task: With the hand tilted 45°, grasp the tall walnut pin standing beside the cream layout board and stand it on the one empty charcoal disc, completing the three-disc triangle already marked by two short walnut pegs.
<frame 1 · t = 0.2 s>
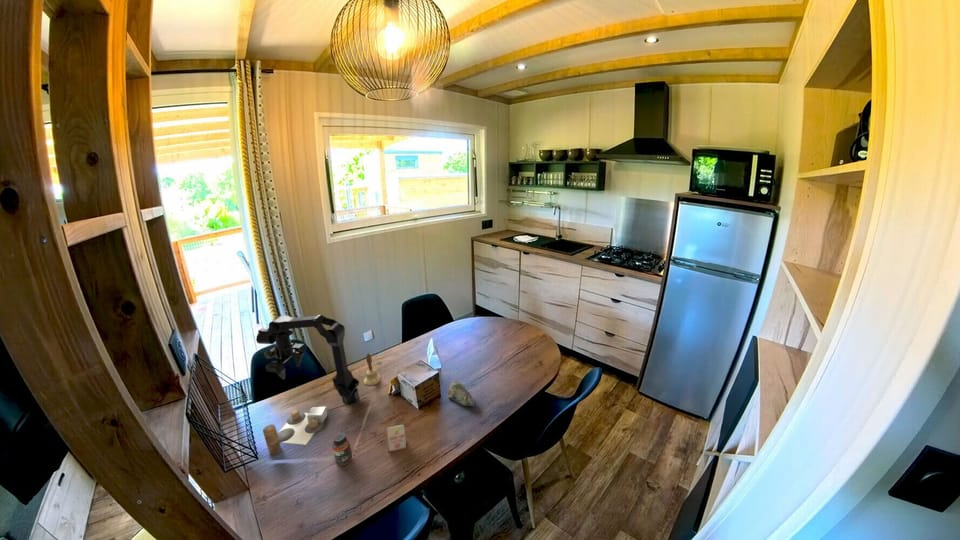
hand: (290, 372, 152), 14 cm above the table, tool pointing down, fingers open, 9 cm apart
layout board: (301, 429, 139), on the table
walnut pin: (275, 452, 128), on the table
hand bell: (372, 380, 169), on the table
mineral rock: (460, 402, 154), on the table
small printed carton: (397, 446, 131), on the table
housing: (318, 418, 143), resting on layout board
supplement bottle: (344, 459, 125), on the table
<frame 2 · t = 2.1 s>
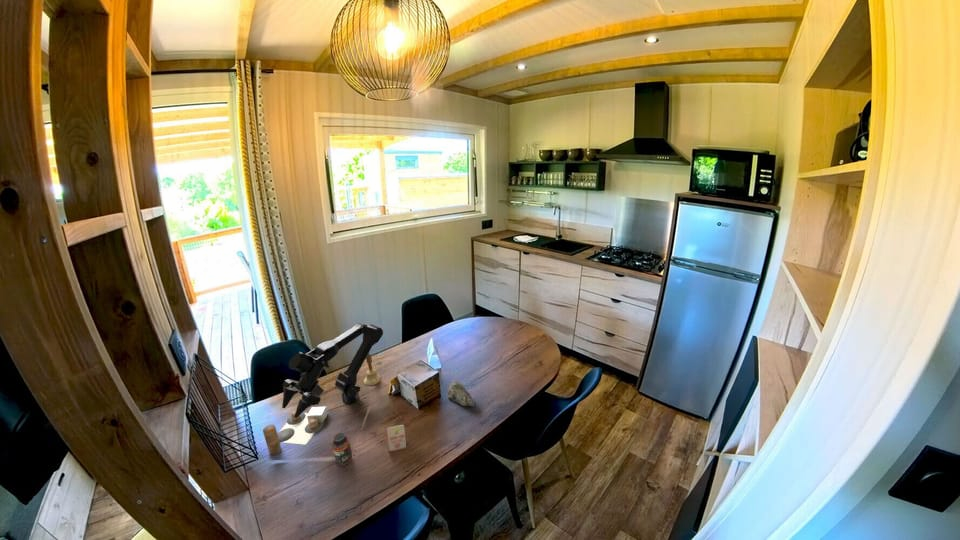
hand: (289, 412, 130), 13 cm above the table, tool tilted 45°, fingers open, 9 cm apart
nothing on the table moved.
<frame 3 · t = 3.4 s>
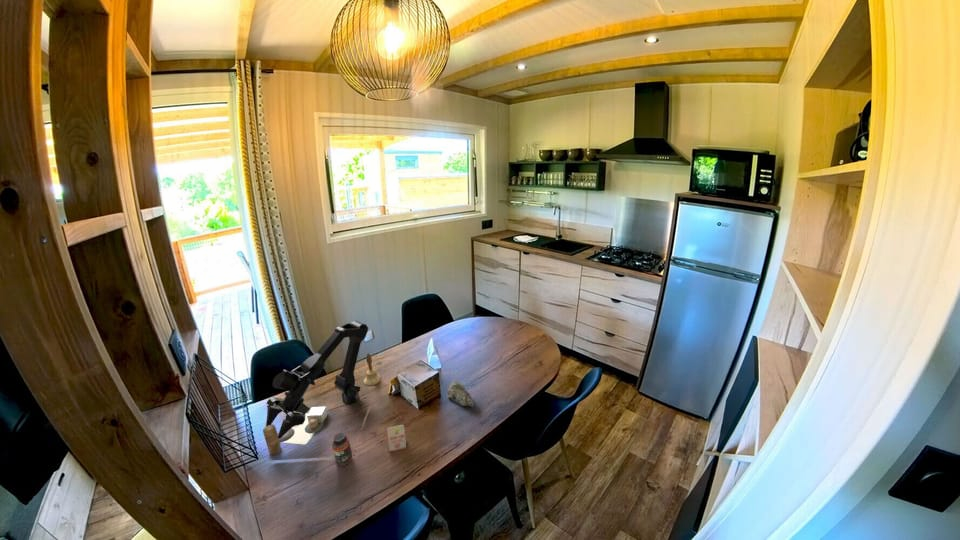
hand: (272, 432, 126), 9 cm above the table, tool tilted 45°, fingers open, 9 cm apart
nothing on the table moved.
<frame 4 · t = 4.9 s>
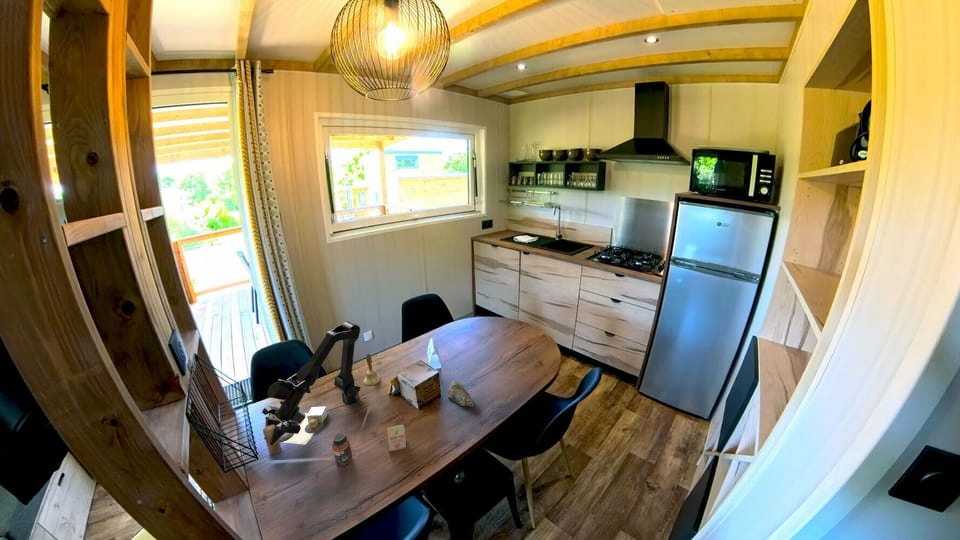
hand: (268, 442, 125), 7 cm above the table, tool tilted 45°, fingers closed on walnut pin, 4 cm apart
walnut pin: (275, 452, 128), on the table, touching gripper
everything else where it was.
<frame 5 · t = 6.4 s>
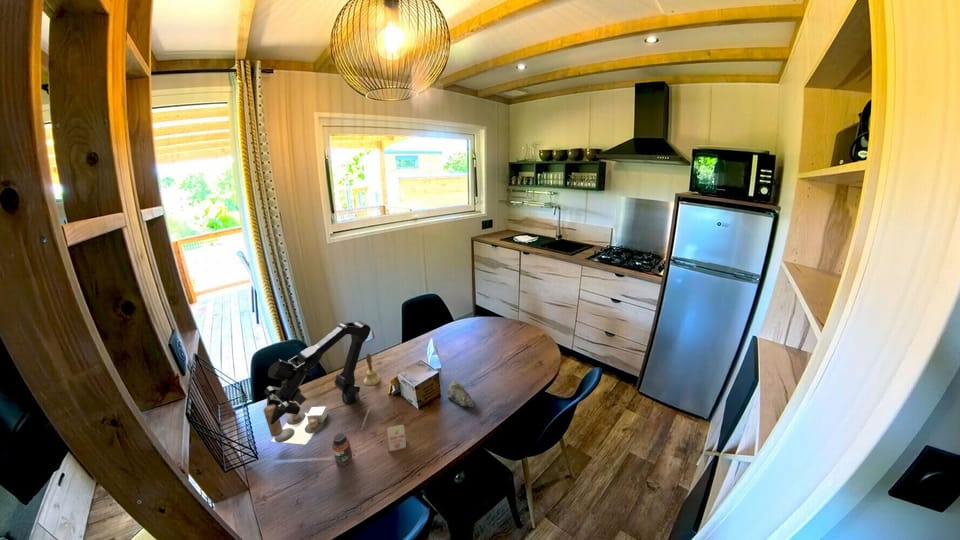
hand: (269, 421, 126), 13 cm above the table, tool tilted 45°, fingers closed on walnut pin, 4 cm apart
walnut pin: (276, 432, 129), point 7 cm above the table, touching gripper
everything else where it was.
when the fingers open (8 cm above the table, at t = 8.2 s): walnut pin stays where it is, resting on layout board.
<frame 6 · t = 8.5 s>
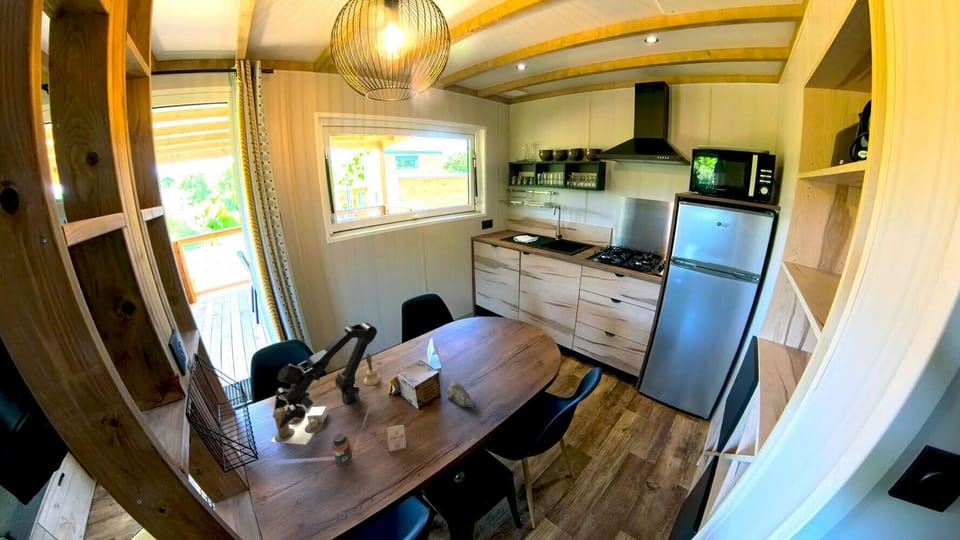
hand: (277, 422, 132), 9 cm above the table, tool tilted 45°, fingers open, 7 cm apart
walnut pin: (284, 434, 135), point 1 cm above the table, touching layout board
everything else where it was.
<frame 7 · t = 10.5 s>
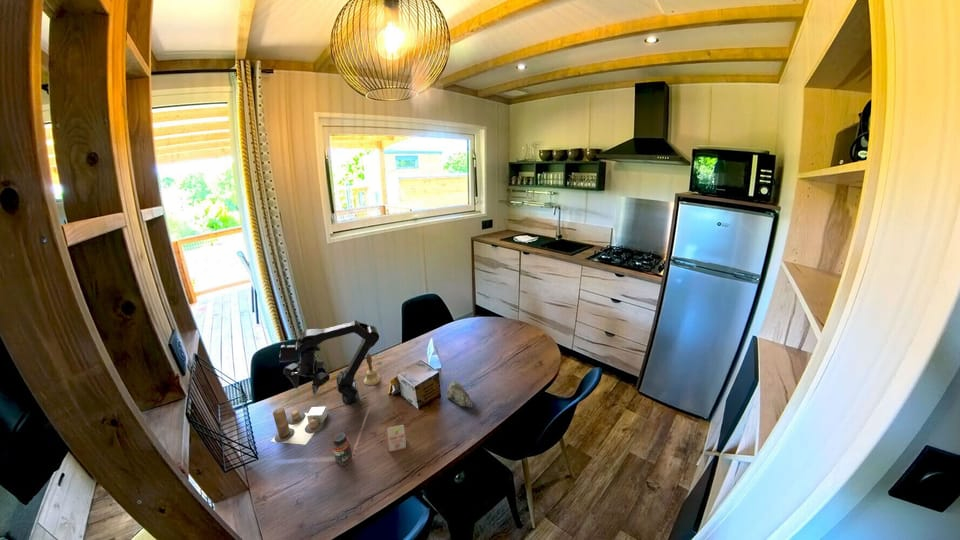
hand: (305, 391, 143), 12 cm above the table, tool pointing down, fingers open, 9 cm apart
nothing on the table moved.
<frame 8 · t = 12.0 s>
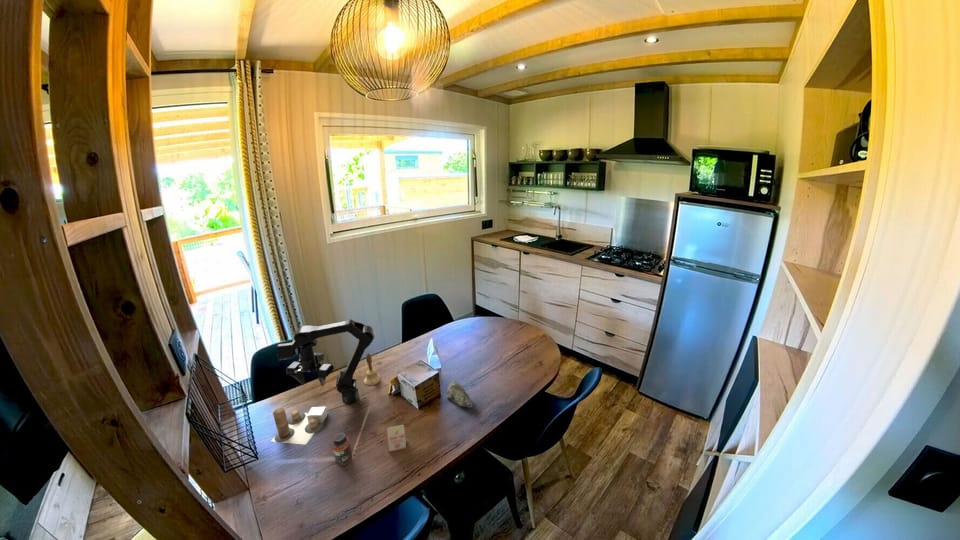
hand: (313, 385, 146), 13 cm above the table, tool pointing down, fingers open, 9 cm apart
nothing on the table moved.
at the end: walnut pin 0.1 cm from the target spot on the layout board, point 1.0 cm above the layout board's base; walnut pin tilted 0°; the gripper is holding nothing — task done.
